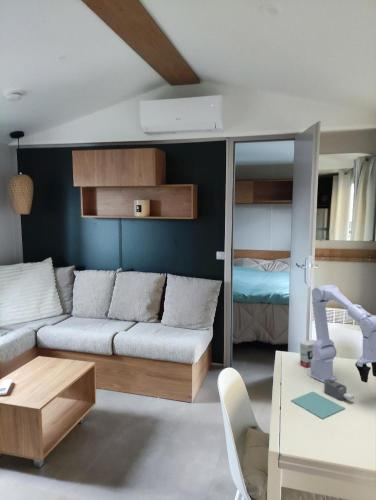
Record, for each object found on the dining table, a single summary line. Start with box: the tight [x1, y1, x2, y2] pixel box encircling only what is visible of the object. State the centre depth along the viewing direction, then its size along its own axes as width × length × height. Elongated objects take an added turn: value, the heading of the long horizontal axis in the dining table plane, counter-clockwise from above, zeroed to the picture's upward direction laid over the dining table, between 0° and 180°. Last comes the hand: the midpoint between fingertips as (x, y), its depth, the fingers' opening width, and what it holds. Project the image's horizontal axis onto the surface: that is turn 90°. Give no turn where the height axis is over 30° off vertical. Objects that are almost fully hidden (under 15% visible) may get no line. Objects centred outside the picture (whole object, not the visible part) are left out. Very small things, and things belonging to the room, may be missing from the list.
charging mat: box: [290, 391, 346, 420], centre depth 146 cm, size 16×13×1 cm
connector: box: [323, 379, 355, 402], centre depth 152 cm, size 13×4×5 cm, turn 30°
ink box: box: [299, 339, 316, 369], centre depth 183 cm, size 9×5×12 cm, turn 114°
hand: (370, 379), depth 146 cm, fingers open, 7 cm apart
